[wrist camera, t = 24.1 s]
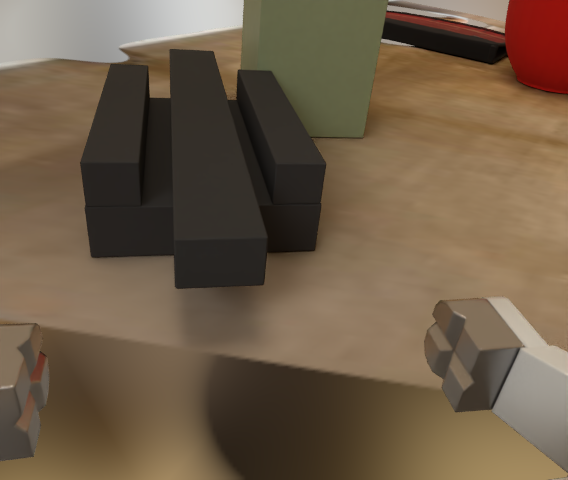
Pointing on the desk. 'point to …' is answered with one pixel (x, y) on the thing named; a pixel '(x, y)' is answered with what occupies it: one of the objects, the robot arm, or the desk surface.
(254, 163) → the dock pad
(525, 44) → the ceramic cup
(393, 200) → the desk surface
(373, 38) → the stand
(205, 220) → the pad strip
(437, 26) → the binder
